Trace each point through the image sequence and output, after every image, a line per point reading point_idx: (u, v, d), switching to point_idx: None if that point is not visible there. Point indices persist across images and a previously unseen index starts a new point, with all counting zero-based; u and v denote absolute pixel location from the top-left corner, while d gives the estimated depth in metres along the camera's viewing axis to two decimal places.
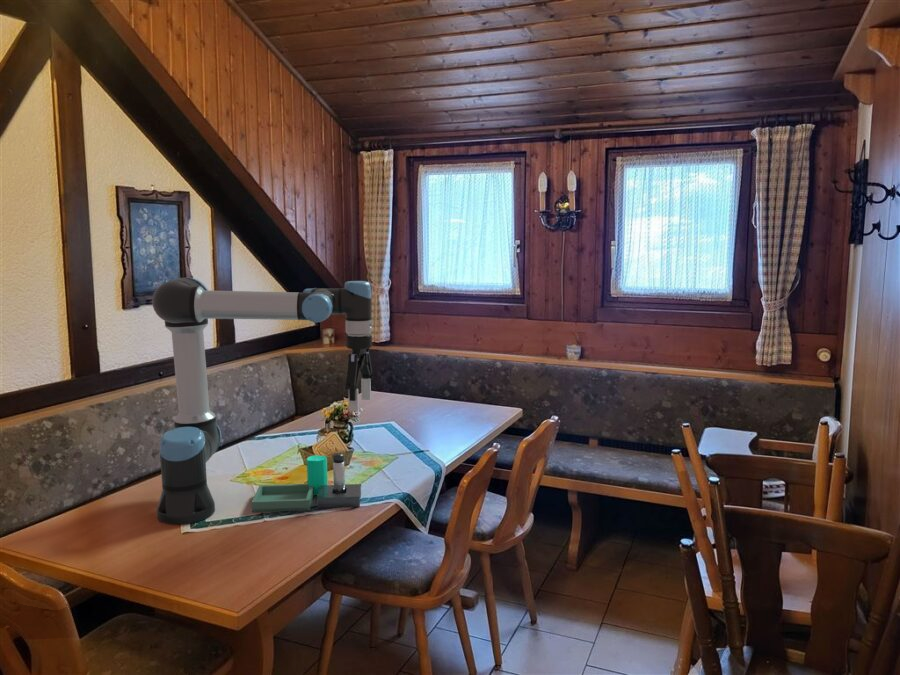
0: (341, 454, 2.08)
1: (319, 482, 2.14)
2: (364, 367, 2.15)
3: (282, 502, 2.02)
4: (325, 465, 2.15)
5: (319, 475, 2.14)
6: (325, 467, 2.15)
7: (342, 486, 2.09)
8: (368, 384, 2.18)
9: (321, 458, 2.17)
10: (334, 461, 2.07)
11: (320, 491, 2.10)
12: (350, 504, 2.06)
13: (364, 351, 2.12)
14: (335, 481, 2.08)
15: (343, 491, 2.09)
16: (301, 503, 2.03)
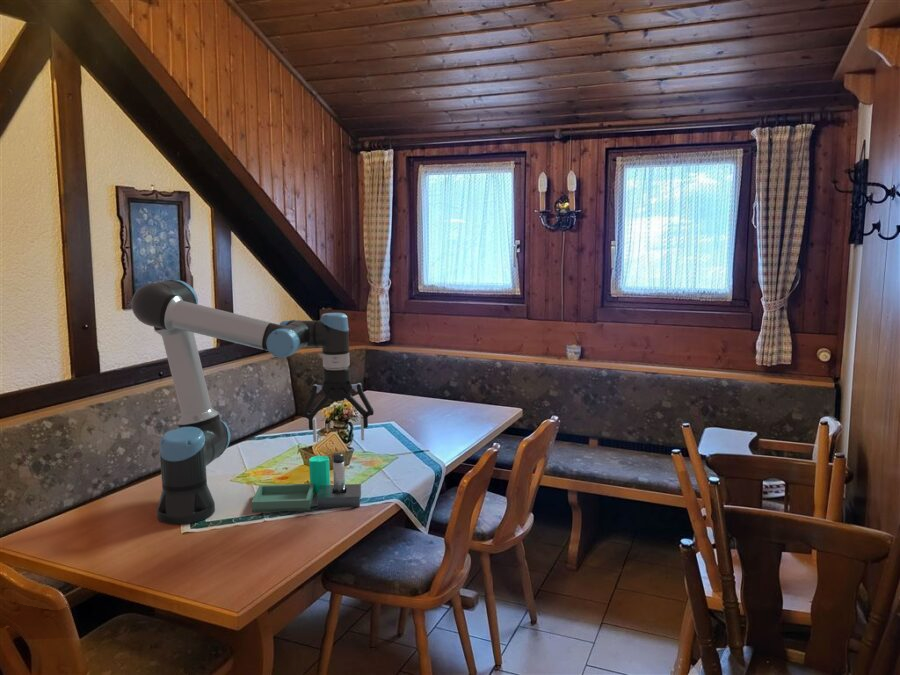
0: (341, 454, 2.08)
1: (322, 482, 2.15)
2: None
3: (282, 502, 2.02)
4: (327, 465, 2.16)
5: (322, 475, 2.15)
6: (327, 467, 2.16)
7: (342, 486, 2.09)
8: None
9: (323, 458, 2.18)
10: (334, 461, 2.07)
11: (320, 491, 2.10)
12: (350, 504, 2.06)
13: (343, 386, 2.04)
14: (335, 481, 2.08)
15: (343, 491, 2.09)
16: (301, 503, 2.03)
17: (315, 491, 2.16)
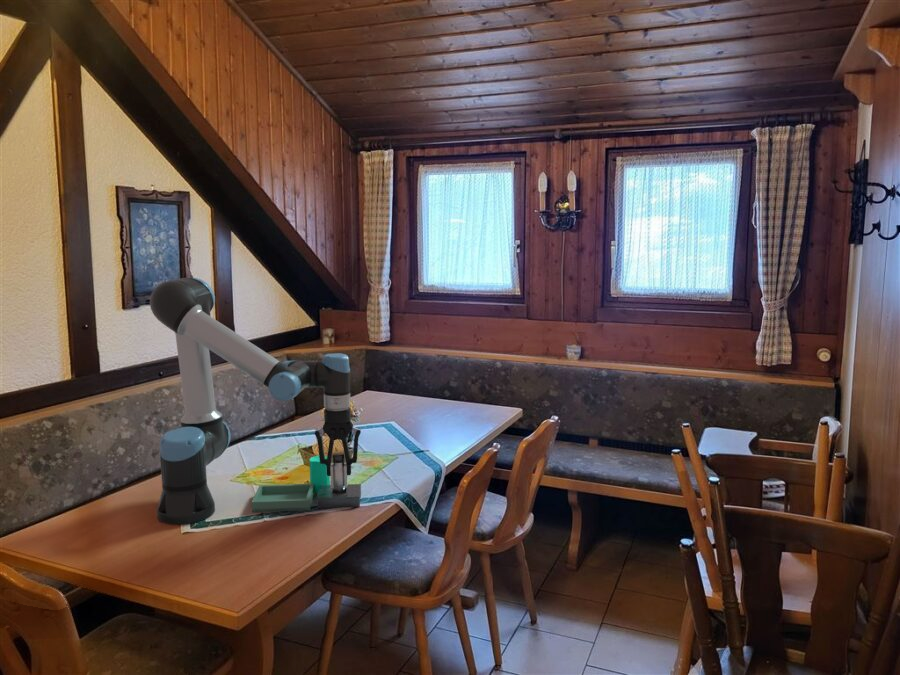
0: (341, 454, 2.08)
1: (322, 482, 2.15)
2: (343, 446, 2.08)
3: (282, 502, 2.02)
4: None
5: (322, 476, 2.15)
6: None
7: (342, 486, 2.09)
8: (344, 470, 2.08)
9: None
10: (334, 461, 2.07)
11: (320, 491, 2.10)
12: (350, 504, 2.06)
13: (345, 424, 2.06)
14: (335, 481, 2.08)
15: (343, 491, 2.09)
16: (301, 503, 2.03)
17: (315, 491, 2.16)
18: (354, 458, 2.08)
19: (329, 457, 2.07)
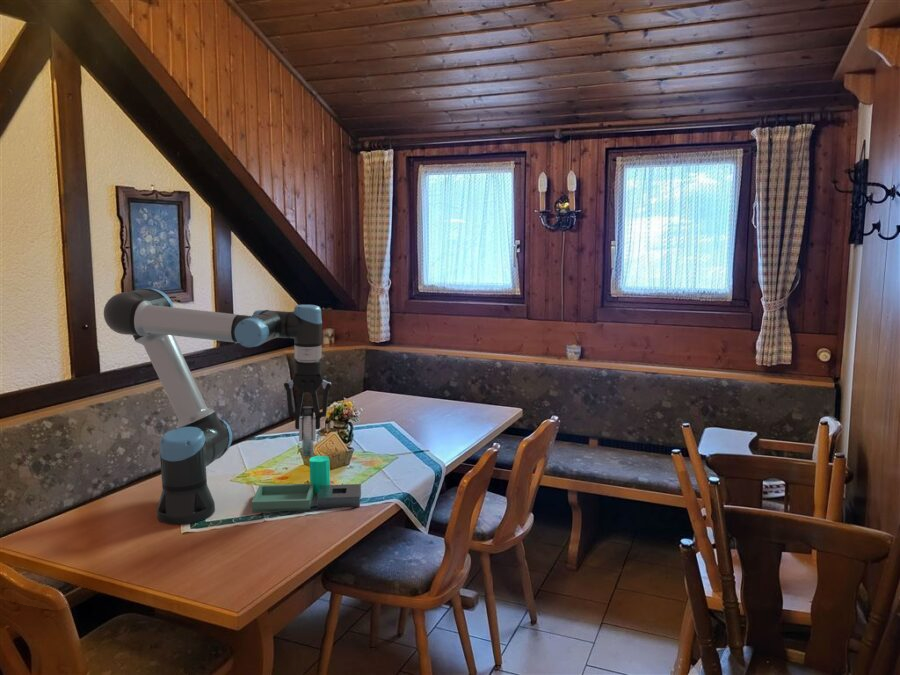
0: (310, 407, 2.06)
1: (322, 482, 2.15)
2: None
3: (282, 502, 2.02)
4: (327, 465, 2.16)
5: (322, 476, 2.15)
6: (328, 468, 2.16)
7: (311, 440, 2.06)
8: (313, 424, 2.06)
9: (324, 458, 2.18)
10: (303, 414, 2.05)
11: (320, 491, 2.10)
12: (350, 504, 2.06)
13: (315, 377, 2.03)
14: (303, 434, 2.05)
15: (311, 445, 2.06)
16: (301, 503, 2.03)
17: (315, 491, 2.16)
18: (323, 412, 2.05)
19: (298, 410, 2.04)
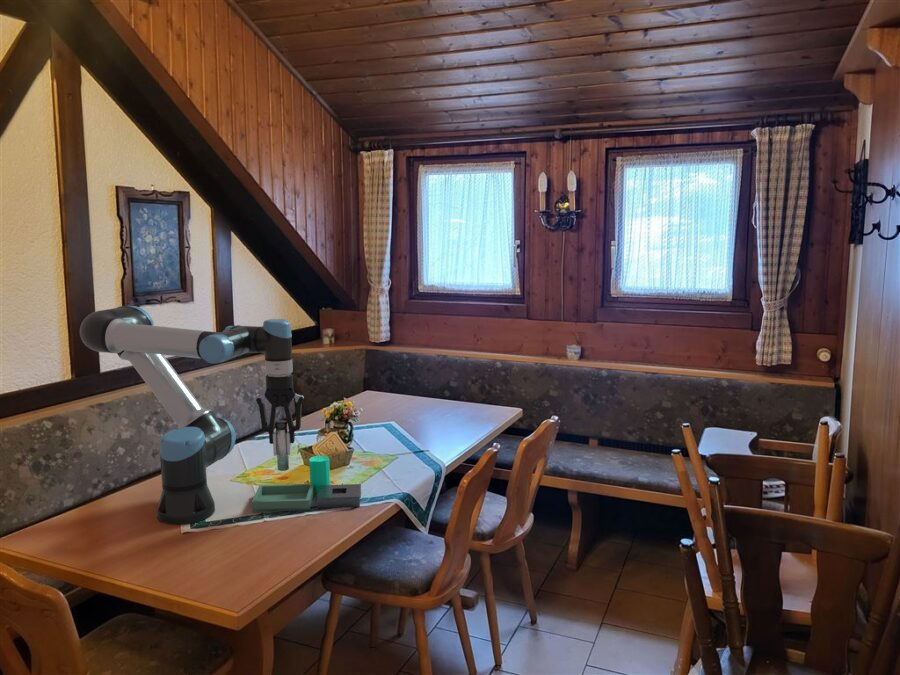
0: (284, 421, 2.05)
1: (322, 482, 2.15)
2: None
3: (282, 502, 2.02)
4: (327, 465, 2.16)
5: (322, 476, 2.15)
6: (327, 467, 2.16)
7: (285, 454, 2.06)
8: (287, 438, 2.05)
9: (323, 458, 2.18)
10: (276, 428, 2.04)
11: (320, 491, 2.10)
12: (350, 504, 2.06)
13: (287, 391, 2.03)
14: (278, 449, 2.05)
15: (286, 459, 2.06)
16: (301, 503, 2.03)
17: (315, 491, 2.16)
18: (297, 425, 2.05)
19: (271, 424, 2.04)
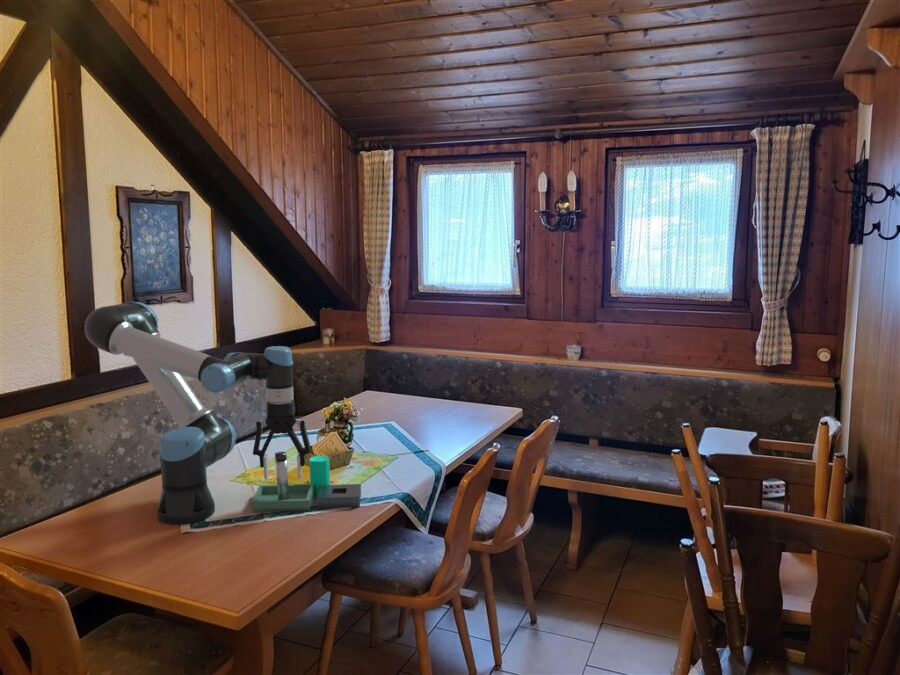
0: (283, 453, 2.07)
1: (322, 482, 2.15)
2: None
3: (282, 502, 2.02)
4: (327, 465, 2.16)
5: (322, 476, 2.15)
6: (328, 467, 2.16)
7: (285, 485, 2.07)
8: None
9: (324, 458, 2.18)
10: (276, 460, 2.06)
11: (320, 491, 2.10)
12: (350, 504, 2.06)
13: (287, 419, 2.04)
14: (278, 480, 2.07)
15: (286, 490, 2.08)
16: (301, 503, 2.03)
17: (315, 491, 2.16)
18: (307, 449, 2.06)
19: (264, 449, 2.05)
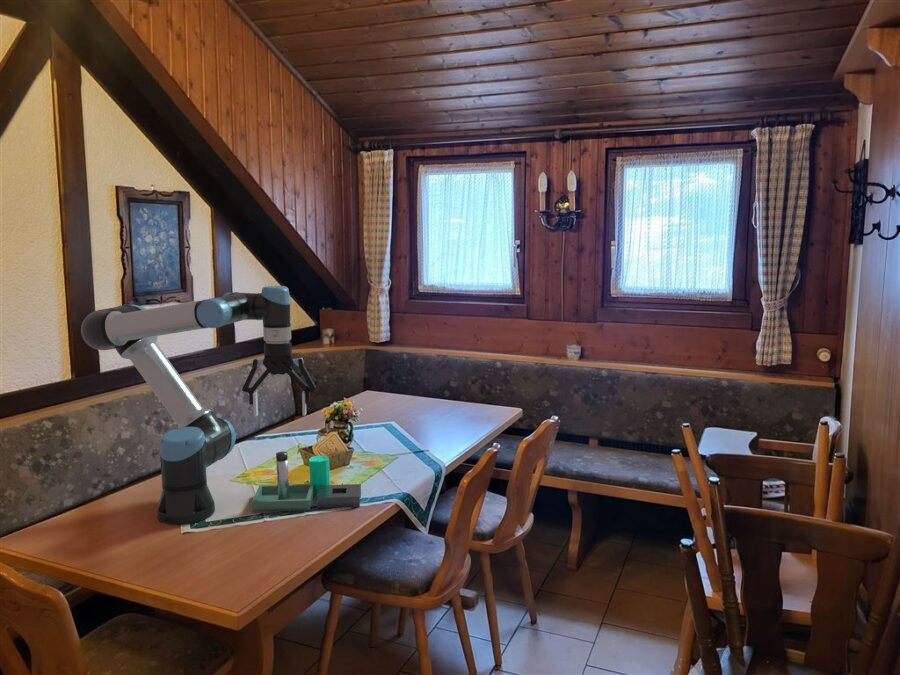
0: (284, 453, 2.07)
1: (322, 482, 2.15)
2: None
3: (282, 502, 2.02)
4: (327, 465, 2.16)
5: (322, 475, 2.15)
6: (327, 467, 2.16)
7: (286, 485, 2.07)
8: (302, 398, 2.04)
9: (323, 458, 2.18)
10: (277, 460, 2.06)
11: (320, 491, 2.10)
12: (350, 504, 2.06)
13: (284, 361, 2.02)
14: (278, 480, 2.07)
15: (287, 490, 2.08)
16: (301, 503, 2.03)
17: (315, 491, 2.16)
18: (311, 386, 2.03)
19: (255, 386, 2.02)
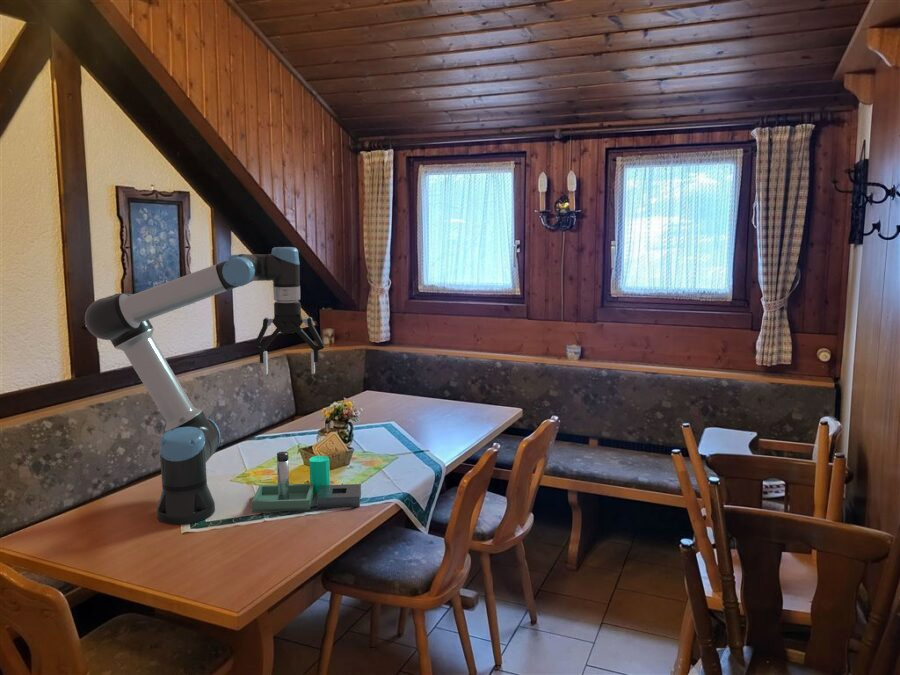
0: (285, 453, 2.07)
1: (322, 482, 2.15)
2: None
3: (282, 502, 2.02)
4: (327, 465, 2.16)
5: (322, 476, 2.15)
6: (327, 468, 2.16)
7: (286, 485, 2.07)
8: (311, 357, 2.09)
9: (323, 458, 2.18)
10: (278, 460, 2.06)
11: (320, 491, 2.10)
12: (350, 504, 2.06)
13: (293, 320, 2.07)
14: (279, 480, 2.07)
15: (287, 490, 2.08)
16: (301, 503, 2.03)
17: (315, 491, 2.16)
18: (320, 345, 2.09)
19: (265, 345, 2.07)
